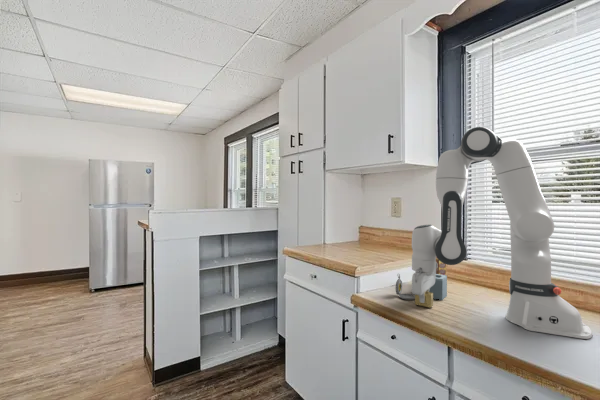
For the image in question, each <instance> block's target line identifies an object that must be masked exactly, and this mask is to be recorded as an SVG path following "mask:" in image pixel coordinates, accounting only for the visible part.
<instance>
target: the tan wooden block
mask: <svg viewBox="0 0 600 400" xmlns="http://www.w3.org/2000/svg"><path fill="white" fill-rule="evenodd" d="M424 295H425V302H424V303H421V302H420V298H419V295H415V294H414V296H415V299H414V303H415V304H414V305H416V306H420V307H426V308H433V306H434V299H433V293H431V292H425V294H424Z"/></svg>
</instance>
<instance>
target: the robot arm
mask: <svg viewBox="0 0 600 400" xmlns="http://www.w3.org/2000/svg"><path fill="white" fill-rule="evenodd" d="M486 160H487V161H488V162H490V163H491V165H492V167H493V170H494V173H495V176H496V181H497V183H498V187H499V190H500V193H501V196H502V199H503V202H504V206H505V208H506V212H507V214H508V217H509V220H510V221H509V223H510V224H509V232H510V234H509V236H510V257H511V261H510V263H511V264H510V279H509V280H508V281H509V283H508V284H509V285H508V288H509V289H508V290H509V292H508V293H509V295H510V296H509V304H508V308H507V312H506V314H505V318H506V320H507V321H509V322H511V323H512V324H515V325H518V326H520V327H521V328H523V329H526V330H527V331H530V332H538V333H544V334H551V335H558V336H562V337H563V336H564V337H571V338H575V339H583V340H589V339H591V338H592V337H593V331H592V329H591V328H590V326H588V325H587V324H585V323H584V322H583V318H582V316H581V313H580V312H579V310H578V309H577V308H576V307H575V306H573V305H572V304H570V303H569V302H568V301H567V300H566V299H564V298H562V297H561V296H560V295H561V294H562V289H561V287H559V285H557V284H554V283H553V282H552V257H551V256H552V255H551V250H550V237H551V236H552V235H553V233H554V230H555V223H554V219H553V217H552V215H551V212H550V209H549V207H548V204H547V201H546V199H545V197H544V195H543V193H542V189H541V187H540V184H539V182H538V178H537V175H536V172H535V171H536V170H535V169H534V165H533V163H532V160H531V157H530V155H529V153H528V151H527V150H526V148H525V146H524V144H523V143H522V142H521V141H519V140H517V139H507V140H503V139H502V138H501V137H500V136H499V135H497V134H496V133H495V132H493V131H492V130H491V129H489V128H488V127H484V126H476V127H473V128H470V129H469V130H467V131H466V132H465V133H464V134H463V136H462V138H461V141H460V146H459V147H458V148H456V149H449V150H446V151H444V152H442V153H441V154H440V156H439V158H438V162H437V168H436V173H435V190H436V196H437V199H438V201H439V203H440V206H441V229H439V228H437V227H435V226H434V225H433V224H423V225H418V226H416V227H414V228H413V230H412V233H411V250H412V255H411V270H412V271H414V272H413V274H412V275H411V276H412V278H411V293H412V295H414V296H415V295H419V298H420V302H421V303H424V302H425V295H424V294H425V292H429V290H430V288H431V287H432V286H433V285H434V284H435V280H436V268H437V262H436V257H437V258H438V259H439V260H440V261H441V262H442V263H444V264H446V266H447V265H449V266H455V265H458V264H460V263H462V262H463V261H464V260H465V259H466V256H467V248H466V244H465V243H464V241H463V237H462V215H463V213H462V211H463V205H464V201H465V198H466V194H467V190H468V189H467V188H468V178H469V169H470V165H473V164H477V163H478V164H479V163H481V162H484V161H486Z"/></svg>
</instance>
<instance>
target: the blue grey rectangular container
mask: <svg viewBox="0 0 600 400" xmlns="http://www.w3.org/2000/svg"><path fill="white" fill-rule="evenodd" d="M429 292H431V293H433V298H434V299H433V300H436V299H439V300H438V301H441V300H443V299H444V298H445V297H446V298H447V296H448V276H447V274H446V275H440V274H436V280H435V284H434V285H433V286H432V287H431V288H430V290H429ZM446 298H445V299H446ZM445 299H444V300H445ZM444 300H443V301H444Z"/></svg>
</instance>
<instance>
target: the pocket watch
mask: <svg viewBox="0 0 600 400" xmlns="http://www.w3.org/2000/svg"><path fill="white" fill-rule="evenodd" d="M397 278H398V279H397V281H396V283H395V294H396V295H398V297H399V298H400V299H402V300H406V301H407V300H408V301H413V300H415V294H410V293H402V290H403V281H402V280H401V274H400V273H398V276H397Z"/></svg>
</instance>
